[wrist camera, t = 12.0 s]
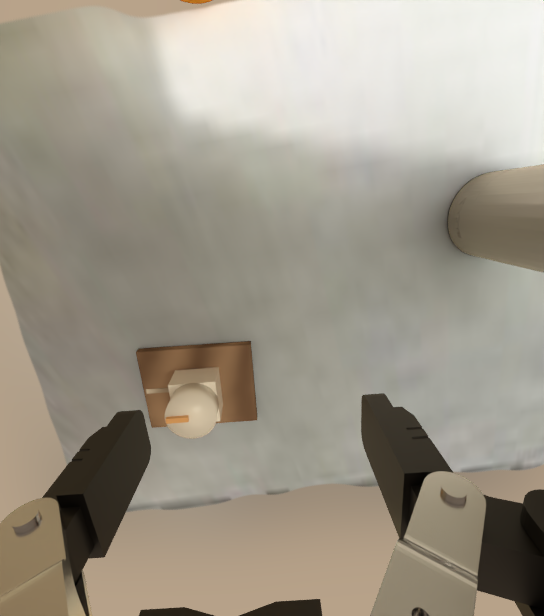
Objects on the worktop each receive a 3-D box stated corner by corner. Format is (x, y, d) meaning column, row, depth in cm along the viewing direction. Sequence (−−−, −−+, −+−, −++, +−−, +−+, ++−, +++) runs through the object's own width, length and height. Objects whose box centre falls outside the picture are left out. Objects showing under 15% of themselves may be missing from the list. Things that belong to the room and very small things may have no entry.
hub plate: (250, 341, 40) (249, 355, 36) (257, 415, 43) (256, 435, 40) (139, 348, 40) (126, 363, 36) (154, 422, 43) (143, 443, 39)
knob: (219, 366, 40) (212, 395, 34) (223, 404, 42) (218, 438, 36) (174, 369, 40) (159, 399, 34) (180, 408, 41) (168, 443, 35)
